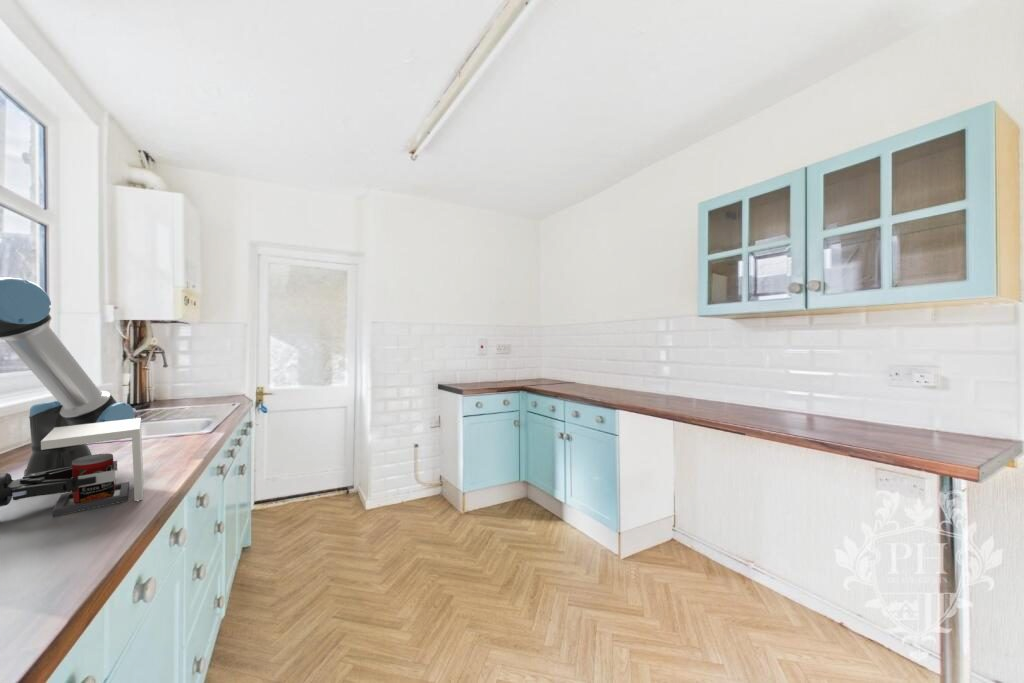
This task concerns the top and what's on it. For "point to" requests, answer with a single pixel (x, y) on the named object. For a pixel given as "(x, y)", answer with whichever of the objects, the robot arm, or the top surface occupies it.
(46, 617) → the top surface
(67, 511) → the grey picture frame
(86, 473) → the canned food
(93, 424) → the shelf
